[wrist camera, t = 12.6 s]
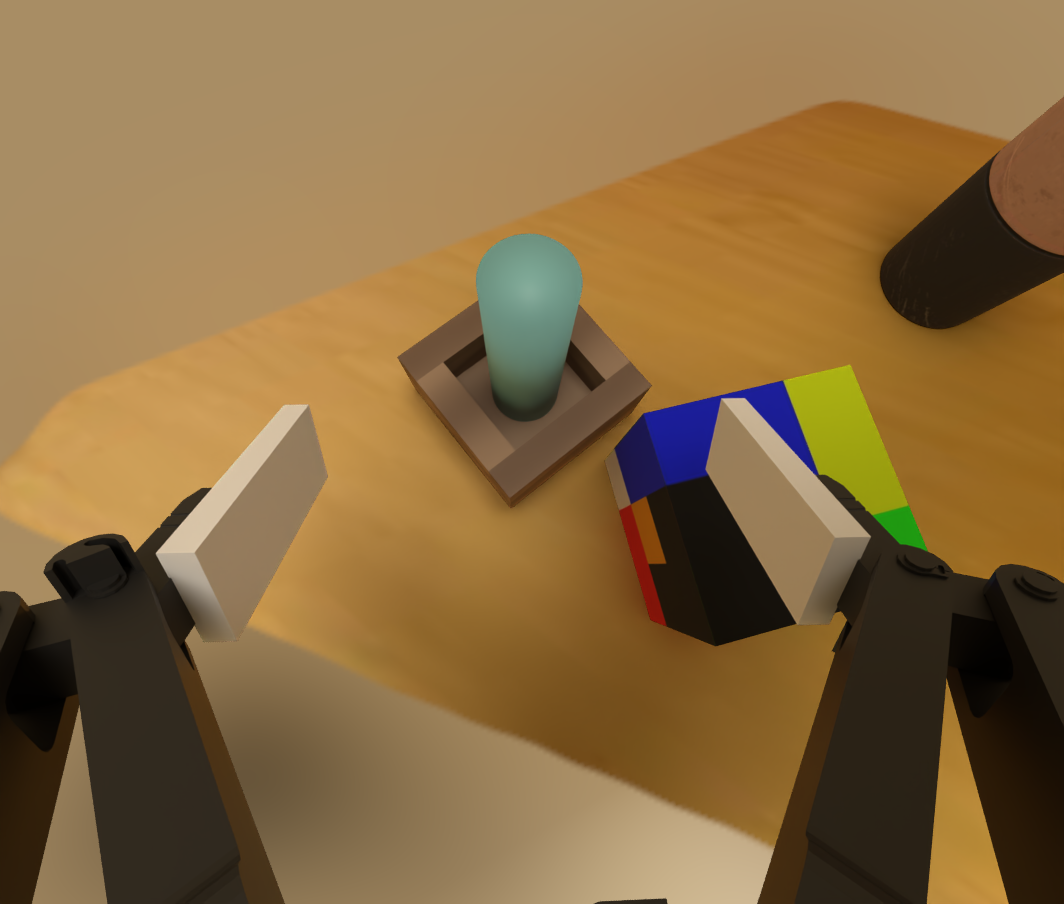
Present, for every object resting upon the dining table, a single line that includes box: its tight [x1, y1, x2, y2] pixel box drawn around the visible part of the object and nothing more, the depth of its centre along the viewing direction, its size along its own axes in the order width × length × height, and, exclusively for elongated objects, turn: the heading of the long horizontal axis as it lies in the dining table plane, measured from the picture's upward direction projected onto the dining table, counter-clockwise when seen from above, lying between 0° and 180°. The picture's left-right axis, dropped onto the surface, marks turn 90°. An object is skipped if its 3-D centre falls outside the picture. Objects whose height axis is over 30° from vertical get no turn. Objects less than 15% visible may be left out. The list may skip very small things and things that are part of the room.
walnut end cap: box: [397, 300, 652, 508], centre depth 30 cm, size 10×10×5 cm
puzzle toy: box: [605, 365, 928, 646], centre depth 26 cm, size 10×10×10 cm
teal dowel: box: [476, 234, 582, 422], centre depth 24 cm, size 4×4×12 cm
